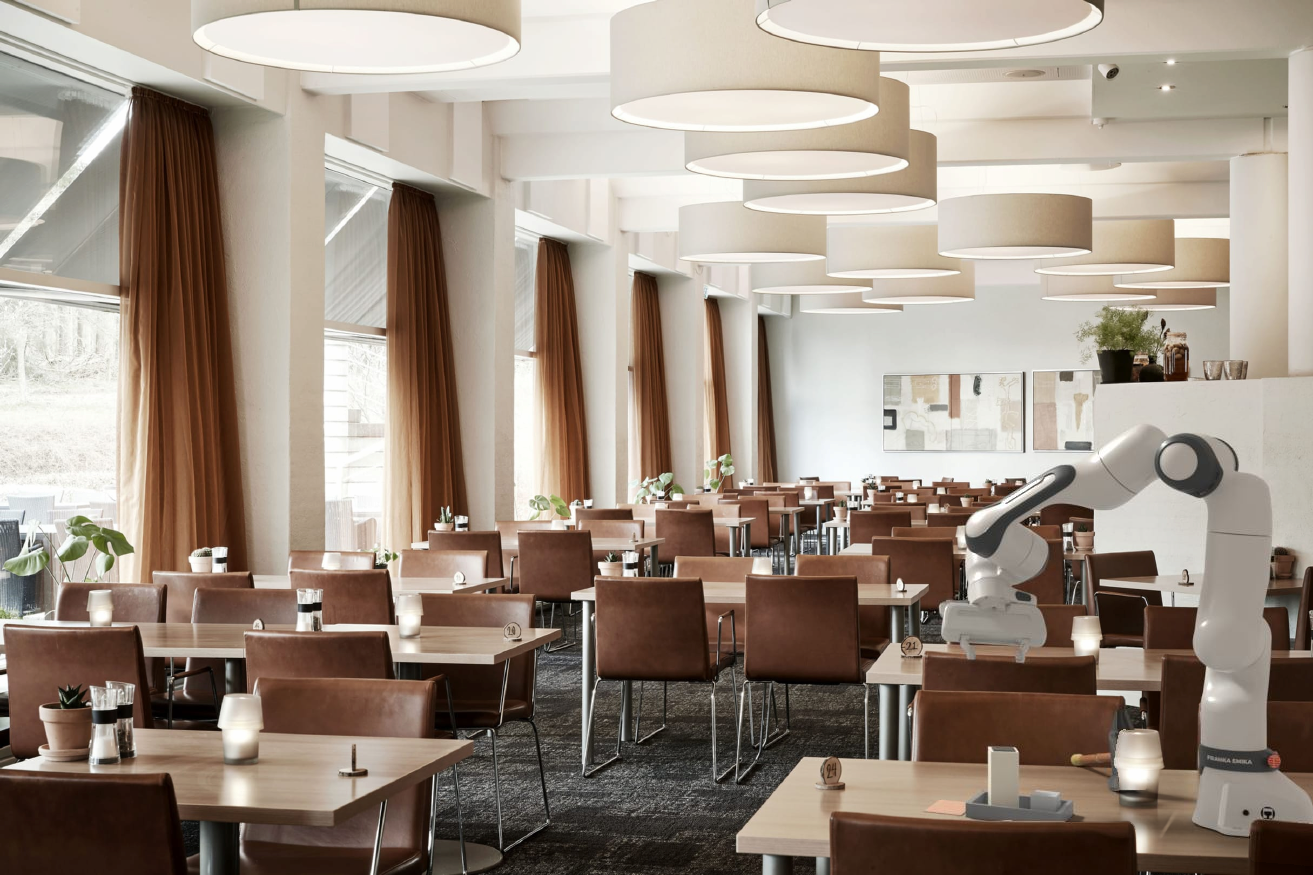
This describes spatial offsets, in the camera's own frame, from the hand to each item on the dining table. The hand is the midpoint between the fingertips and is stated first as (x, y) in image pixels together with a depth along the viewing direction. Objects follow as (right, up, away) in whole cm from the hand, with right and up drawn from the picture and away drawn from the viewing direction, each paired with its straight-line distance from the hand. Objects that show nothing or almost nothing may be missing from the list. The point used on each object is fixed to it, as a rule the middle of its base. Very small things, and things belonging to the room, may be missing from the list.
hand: (996, 659), depth 272 cm
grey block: (+5, -26, -16) cm, 32 cm away
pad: (-11, -27, -8) cm, 30 cm away
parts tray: (+1, -27, -14) cm, 31 cm away
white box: (-2, -27, -13) cm, 30 cm away
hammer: (+28, -29, +21) cm, 45 cm away
